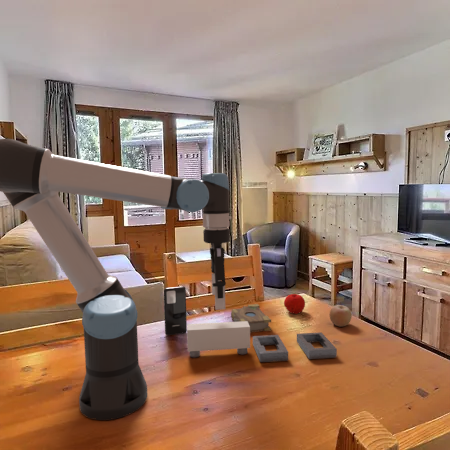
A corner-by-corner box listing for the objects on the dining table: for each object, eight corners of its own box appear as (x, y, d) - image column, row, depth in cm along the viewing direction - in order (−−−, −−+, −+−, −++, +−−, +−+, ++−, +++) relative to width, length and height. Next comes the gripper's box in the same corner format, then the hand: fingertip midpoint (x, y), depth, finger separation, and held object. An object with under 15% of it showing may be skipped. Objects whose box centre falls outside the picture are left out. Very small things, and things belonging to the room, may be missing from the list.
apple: (283, 316, 134) (283, 297, 133) (284, 309, 142) (284, 291, 141) (305, 317, 133) (305, 297, 132) (304, 310, 140) (304, 291, 140)
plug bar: (187, 359, 101) (187, 330, 100) (187, 351, 106) (187, 324, 105) (250, 355, 103) (250, 326, 102) (247, 348, 108) (247, 321, 107)
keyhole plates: (260, 362, 99) (260, 353, 99) (252, 344, 110) (252, 336, 110) (336, 357, 101) (336, 348, 101) (321, 339, 113) (321, 332, 112)
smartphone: (186, 332, 120) (185, 286, 119) (187, 333, 119) (186, 286, 118) (164, 335, 118) (163, 288, 117) (165, 336, 117) (163, 288, 116)
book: (271, 331, 121) (271, 317, 120) (240, 335, 118) (240, 320, 118) (257, 316, 135) (257, 303, 134) (229, 319, 132) (229, 306, 132)
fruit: (327, 320, 129) (328, 299, 128) (349, 321, 128) (349, 299, 127) (331, 329, 121) (331, 306, 120) (353, 329, 120) (354, 306, 119)
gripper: (235, 233, 89) (236, 315, 91) (225, 223, 113) (226, 288, 116) (205, 234, 88) (207, 317, 90) (201, 224, 113) (203, 289, 115)
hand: (218, 301), depth 103 cm, fingers open, 13 cm apart
